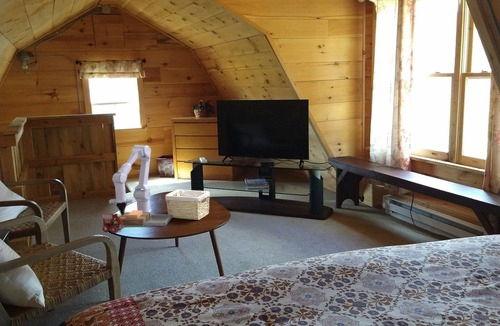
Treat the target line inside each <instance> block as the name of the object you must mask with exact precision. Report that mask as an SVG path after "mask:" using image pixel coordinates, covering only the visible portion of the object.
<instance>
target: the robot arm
mask: <svg viewBox="0 0 500 326" xmlns="http://www.w3.org/2000/svg"><path fill="white" fill-rule="evenodd" d="M151 153H152V149H151V147H150V146H149V145H142V144H140V145H139V144H135V145H134V146H133V147H132V148H131V154H130V156H129V157H128V159H127V161H126V162H125V163H122V164H121V167H120V168H119V169H118V170H117V172H115V173H114V174H113V175H112V179H111V180H112V182H113V185H114V188H115V198H113V199H110V200H108V203H109V204H116V205H115V206H116V207H117V209H118V210H119V213H120V216H121V215H124V213H125V212H126V207H127V205H128V204H134V203H135V201H136V209H137V210H142V212H150V213H151V212H152V211H153V209H151V202H150V198H151V188H150V187H149V186H148V183H149V182H148V180H149V173H150V163H151ZM138 158H139V159H140V160H141V161H140V169H139V176H138V184H137V185H136V186H135V187H134V191H133V194H132V195H133V198H134V199H133V198H127V193H126V182H127V179H128V175H129V173H130V172H131V170H132V165H134V163H135V162H136V161H137V159H138Z"/></svg>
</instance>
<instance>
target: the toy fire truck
mask: <svg viewBox="0 0 500 326" xmlns="http://www.w3.org/2000/svg"><path fill="white" fill-rule="evenodd" d="M101 218H102V222H103V223H102V224H103V226H102V232H103V233H108V232H111V233H112V234H115V233H116V234H117V232H118V231H120V230H123V229H124V226H123V222H122V220H121V218H120V216H119V215H118V213H109V212H103V213H102V214H101Z"/></svg>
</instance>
